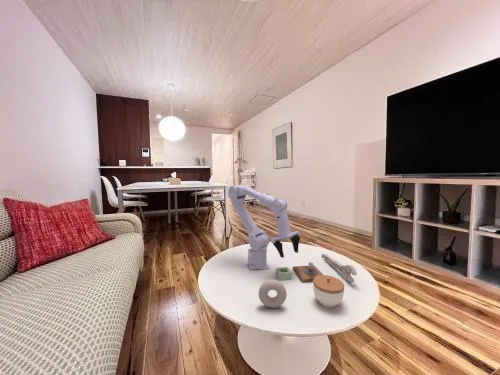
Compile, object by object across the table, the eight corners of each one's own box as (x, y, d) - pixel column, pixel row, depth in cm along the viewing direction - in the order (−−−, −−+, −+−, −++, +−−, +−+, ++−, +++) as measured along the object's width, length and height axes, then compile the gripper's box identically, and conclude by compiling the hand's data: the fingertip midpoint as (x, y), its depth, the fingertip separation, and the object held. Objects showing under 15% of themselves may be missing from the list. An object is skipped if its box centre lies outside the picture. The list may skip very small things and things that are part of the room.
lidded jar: (307, 302, 78) (308, 278, 77) (320, 290, 86) (320, 268, 85) (336, 316, 71) (338, 290, 70) (347, 301, 79) (348, 277, 78)
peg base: (301, 282, 91) (302, 270, 91) (292, 269, 103) (293, 258, 103) (325, 280, 93) (326, 268, 92) (314, 268, 105) (314, 257, 104)
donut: (285, 304, 77) (286, 278, 76) (287, 310, 74) (287, 283, 73) (258, 303, 77) (258, 277, 76) (258, 309, 74) (258, 282, 73)
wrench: (324, 263, 117) (357, 287, 87) (321, 263, 116) (353, 287, 87) (324, 248, 117) (356, 268, 87) (321, 248, 117) (352, 268, 87)
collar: (279, 280, 93) (279, 273, 93) (275, 273, 99) (276, 267, 99) (291, 279, 94) (291, 272, 94) (287, 273, 100) (287, 267, 99)
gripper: (273, 229, 91) (279, 261, 90) (301, 221, 96) (307, 251, 95) (266, 228, 97) (272, 258, 97) (292, 221, 103) (298, 249, 102)
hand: (289, 254), depth 96 cm, fingers open, 7 cm apart
